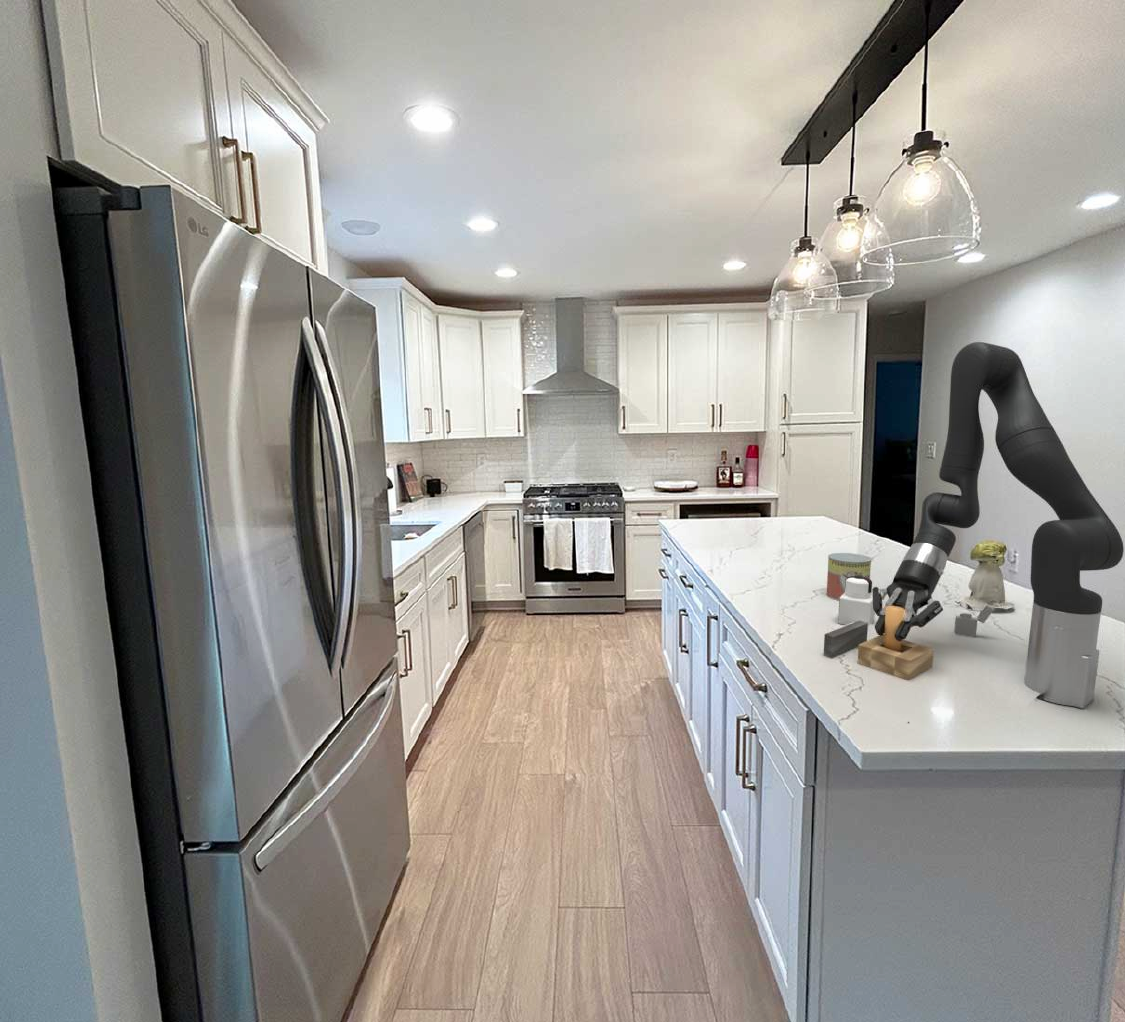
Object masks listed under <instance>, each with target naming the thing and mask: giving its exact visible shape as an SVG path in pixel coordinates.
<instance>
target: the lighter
mask: <svg viewBox="0 0 1125 1022" xmlns="http://www.w3.org/2000/svg"><path fill="white" fill-rule="evenodd" d="M994 611H995V608H994V607H992V606H990V605H988V604H987V605H986V607H985V608H984V609H983V610H982V611H980V612H979V614H978V616H977V617H972V616H973V614H972V613H967V612H962V613H959V615H957V614H956V615H955V618H954V620H955V621H954V628H953V629H954V631H953V633H955V634H956V635H957V636H962V635H964V636H965V637H969V636H970V638H977V630H978V622H981V623H982V624H984V623H985V622H986V621H987V620H988V618H989V617H990V616H991V614H992V613H993V612H994ZM955 634H954V635H955Z"/></svg>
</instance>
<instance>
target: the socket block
mask: <svg viewBox="0 0 1125 1022" xmlns="http://www.w3.org/2000/svg"><path fill="white" fill-rule="evenodd" d="M883 644H884V634H883V636H880V635H878V636H877V635H876V636H875V637H872V638H871V639H867V641H866V642H864V643H861V644H859V647H857V648H858V651H857V664H861V665H863V666H866V667H869V668H871V669H875V670H877V671H879V672H880V671H881V672H882V673H886V674H890V675H892V676H895V677H898V678H901V679H904V680H905V681H909V680H911V679H913V678H915V677H917V676H919V675H920V674H923V672H924V673H925V671H928V670H929V669H931V668H933V659H934V648H933V647H929V646H926V645H923V644H918V643H916V642H912V641H909V640H905V639H904V640H903V639H902V645H901V652H897V651H894V650H891V649H888V648H884V647H883Z"/></svg>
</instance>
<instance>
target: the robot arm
mask: <svg viewBox="0 0 1125 1022" xmlns="http://www.w3.org/2000/svg"><path fill="white" fill-rule="evenodd" d="M1025 369H1026V368H1025V366H1024V365H1023V362H1022V360H1021V358H1020V357H1019V354H1017V353H1016V352H1015V351H1014V350H1013V349H1010V348H1009V347H1004V346H1001V345H997V344H993V343H988V342H982V341H974V342H970V343H968V344H967V345H965V346H963V347H962V348H961V349H960V350H959V352H957V354H956V355H955V358H954V359H953V362H952V366H951V371H950V387H949V389H950V390H949V391H950V393H949V409H948V427H947V436H946V442H945V447H944V450H943V456H942V458H941V459H942V460H941V464H940V467H939V471H938V472H939V473H938V474H939V475H938V476H939V479H940V480H941V481H943V482H945V483H949V484H951V485H954V486H957V487H958V488H959V490H960V494H961V495H959V494H952V493H945V492H937V491H936V492H932V493H929V494H928V495H927V496H926V497H925V498H924V500H923V502H922V505H921V519H920V524H919V528H918V532H917V533H916V536H915V538H914V540H913V542H912V544H911V546H910V548H909V549H908V550H907V552H906V553H905V554H904V556H903V559H902V561H901V563H900V565H899V566H898V568H897V571H896V573H895V574H894V576H893V579H892V583H890V584H889V585H888V586H887V587H886V588H879V587H878V586H874V587H872V595H873V610H874V611H875V615H876V616H877V617H878V618H877V621H876V623H875V624H874V630H875V632H876V634H877V635H878V636H883V634H884V629H885V614H886V606H898V607H901V608H903V609H904V617H903V621H901V622H900V624H899V627H898V629H897V631H896V633H895V638H896V640H897V641H902V640H905V639H907V637H908V635H909V633H910V631H911V628H913V627H918V628H924V627H925V626H926V625H927V624H929V622H931V621H932V620H933V619H935V618H936V617H937V616H939V615H940V614H941V613H942V612H943V610H944V608H943V606H942V603H941V602H940V601H939V600H935V599H933V596H932V595H933V594H934V592H935V590H936V588H937V585H938V583H939V581H940V579H941V577H942V575H944V571H945V569H946V568H945V567H946V565H947V561H948V560H949V557H950V555H951V553H952V550H953V549H954V547H955V544H956V541H957V537H956V535H955V533H954V532H953V531H952V530H951V529H949V528H947V527H945V526H949V527H953V528H959V529H969V528H971V527H973V526H974V525H976V523H977V522H978V520H979V518H980V514H981V513H980V509H981V507H980V502H979V501H980V500H979V494H978V493H979V492H978V491H979V490H978V489H979V488H978V481H979V480H978V479H979V474H980V469H981V465H982V461H983V457H984V451H985V438H984V432H983V427H982V423H981V419H980V409H979V407H980V405H979V404H980V397H981V392H982V391H984V392H985V393H986V395H987V396H988V398H989V399H990V401H991V402H992V405H993V407H994V408H995V410H996V414H997V423H996V426H995V427H996V429H995V435H994V436H995V437H994V439H995V441H994V442H995V444H996V448H997V450H998V452H999V454H1000V457H1001V459H1002V460H1003V462H1004V464H1005V466H1006V468H1007V470H1008V471H1009V473H1011V474H1012V476H1013V477H1014V478H1016V480H1017V481H1019V482H1020V483H1021V484H1022V485H1023V486H1025V487H1027V488H1028V489H1029V490H1030V491H1032V492H1033V493H1035V494H1036V495H1037V496H1038V497H1040V498H1041V499H1042V500H1043V501H1045V503H1047V504H1048V506H1050V508H1052V511H1054V513H1055V514H1056V516H1057V518H1058V519H1054V520H1048V521H1046V522H1043V523H1042V524H1040V526H1038V528H1037V529H1036V531H1035V532H1034V535H1033V538H1032V543H1031V560H1030V561H1031V562H1030V586H1031V589H1032V593H1033V602H1032V610H1031V620H1030V627H1029V635H1028V637H1029V638H1028V644H1027V652H1026V653H1027V654H1026V655H1027V656H1026V664H1025V672H1024V681H1023V683H1024V685H1025V686H1026V687H1027V688H1028V689H1030V690H1032V691H1033V692H1036V693H1039V695H1037V696H1036V698H1038V699H1041V700H1044V701H1047V702H1050V703H1053V704H1058V705H1064V706H1070V707H1075V708H1076V707H1077V708H1080V709H1085V708H1086V707H1087V706H1088V705H1089V704H1090V703H1091V702H1093V700H1094V697H1095V690H1096V681H1097V672H1098V666H1099V659H1100V650H1099V649H1097V647H1098V646H1097V645H1098V640H1099V639H1098V638H1099V630H1100V623H1101V615H1102V608H1103V598H1102V596H1101V595H1100V594H1099V593H1097V592H1095V591H1093V590H1090V589H1087V588H1085V587H1082V586H1081V571H1082V572H1084V571H1085V572H1089V571H1104V570H1105V571H1106V570H1109V569H1113V568H1114V567H1116V566H1118V564H1119V563H1120V562H1121V560H1122V558H1123V557H1124V551H1125V548H1124V542H1123V539H1122V537H1121V534H1120V532H1119V530H1118V529H1117V527H1116V525H1115V524H1114V522H1113V521H1112V520H1111V519H1110V517H1109V516H1108V514H1107V513H1106V512H1105V510H1104V509H1103V507H1102V506H1101V505H1100V504H1099V502H1098V500H1096V498H1095V497H1094V496H1093V494H1092V493H1091V491H1090V489H1089V488H1088V486H1087V485H1086V483H1085V482H1084V480H1083V478H1082V477H1081V475H1080V473H1079V471H1077V469H1076V467H1075V465H1074V463H1073V462H1072V460H1071V458H1070V457H1069V455H1068V453H1067V450H1066V448H1065V446H1064V445H1063V442H1062V441H1061V438H1060V437H1059V435H1058V433H1057V432H1056V430H1055V428H1054V427H1053V425H1052V423H1051V422H1050V420H1049V418H1048V416H1047V415H1046V413H1045V411H1044V409H1043V407H1042V406H1041V404H1040V402H1039V401H1038V398H1037V397H1036V395H1035V393H1034V391H1033V389H1032V387H1031V384H1030V381H1029V378H1028V376H1027V373H1026V370H1025ZM886 596H888V599H887V601H886V602H885V604H884V606H883V600H885V598H886ZM923 607H925V608H924V609H923V610H921V611H920V612H919V610H920V609H922V608H923ZM918 612H919V613H918Z"/></svg>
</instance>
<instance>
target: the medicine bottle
mask: <svg viewBox="0 0 1125 1022" xmlns="http://www.w3.org/2000/svg"><path fill="white" fill-rule="evenodd" d="M872 589H873V581H872V579H871V578H870V579H868V578H866V577H862V576H850V577H847V578H846V579H845V593H844V594H843V595H842V596H841V597H840V598H839V601H838V614H837V615H838V616H837V617H838V618H837V619H838V620H837V622H838V623H837V624H839V625H844V626H847V625H849V624H852V623H854V622H857V621H863V622H866V623H868V626H870V625H873V624H874V622H875V619H876V618H875V615H876V613H875V611H874V610H873V592H872Z"/></svg>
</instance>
